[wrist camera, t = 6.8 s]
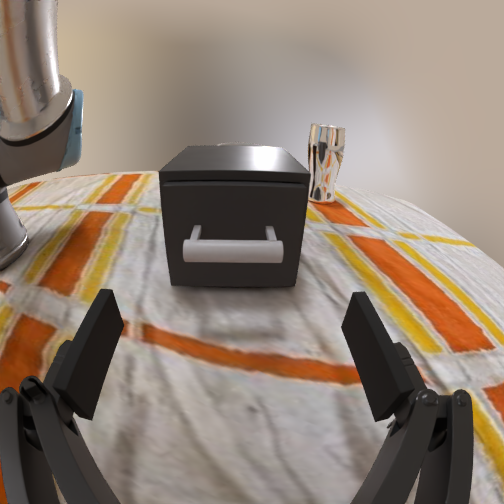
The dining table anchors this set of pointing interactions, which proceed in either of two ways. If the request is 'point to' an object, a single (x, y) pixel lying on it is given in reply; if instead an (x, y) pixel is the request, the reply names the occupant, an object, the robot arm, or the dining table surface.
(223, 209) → the black drawer
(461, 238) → the dining table surface
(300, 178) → the small dark drawer box
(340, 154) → the beer glass
